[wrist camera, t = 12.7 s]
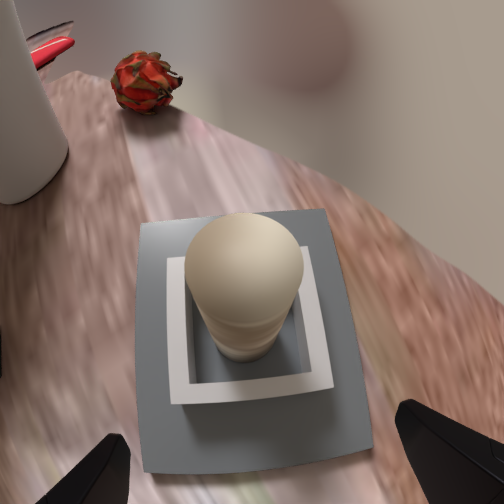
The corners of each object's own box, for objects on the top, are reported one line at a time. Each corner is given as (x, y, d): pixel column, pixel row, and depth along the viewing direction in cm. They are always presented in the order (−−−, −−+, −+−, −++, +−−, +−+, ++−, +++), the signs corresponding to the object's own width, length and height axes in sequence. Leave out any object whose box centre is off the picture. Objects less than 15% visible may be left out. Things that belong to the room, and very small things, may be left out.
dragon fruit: (134, 95, 40) (176, 133, 37) (88, 91, 33) (124, 133, 30) (158, 47, 35) (207, 79, 33) (112, 37, 28) (155, 67, 26)
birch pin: (273, 301, 22) (296, 212, 12) (277, 361, 20) (310, 317, 10) (212, 303, 22) (188, 214, 12) (212, 363, 20) (181, 321, 10)
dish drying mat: (-53, 129, 42) (-58, 120, 39) (61, 43, 57) (58, 33, 53) (-55, 149, 37) (-62, 138, 34) (77, 48, 52) (74, 37, 49)
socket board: (367, 445, 18) (391, 451, 14) (148, 469, 17) (129, 481, 13) (321, 216, 27) (332, 186, 23) (144, 230, 26) (130, 202, 22)
